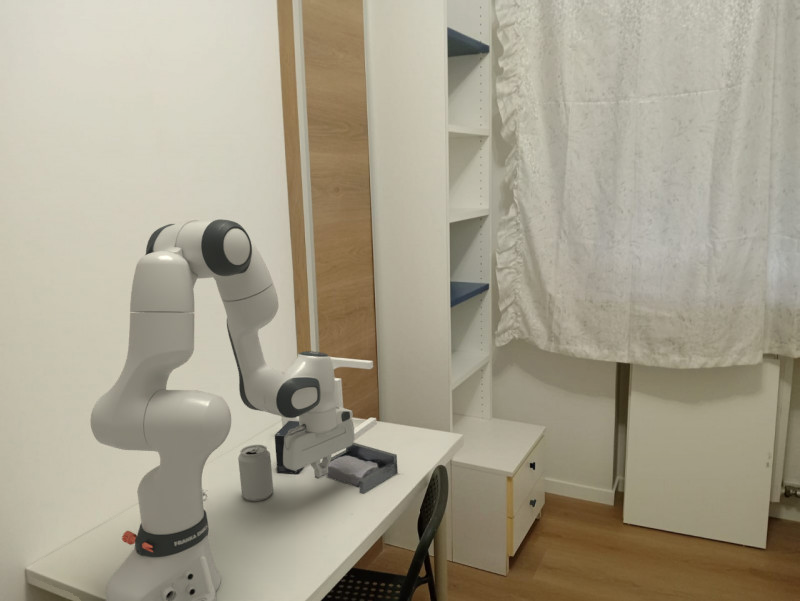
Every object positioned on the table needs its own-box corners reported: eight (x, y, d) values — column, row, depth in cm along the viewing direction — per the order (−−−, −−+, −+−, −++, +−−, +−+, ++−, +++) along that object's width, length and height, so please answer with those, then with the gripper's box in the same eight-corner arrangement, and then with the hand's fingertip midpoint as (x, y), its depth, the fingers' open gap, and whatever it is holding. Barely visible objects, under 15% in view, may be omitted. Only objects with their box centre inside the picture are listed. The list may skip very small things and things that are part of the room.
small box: (300, 474, 175) (297, 436, 173) (276, 473, 176) (272, 435, 174) (313, 457, 185) (310, 420, 183) (290, 456, 186) (287, 420, 184)
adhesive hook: (195, 501, 164) (193, 489, 163) (202, 496, 166) (201, 484, 166) (205, 503, 163) (203, 491, 162) (212, 498, 165) (211, 486, 164)
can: (235, 500, 163) (230, 452, 160) (255, 486, 169) (250, 441, 167) (261, 505, 160) (256, 457, 157) (279, 491, 166) (275, 444, 164)
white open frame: (321, 416, 215) (316, 355, 212) (376, 424, 207) (372, 360, 203) (283, 440, 198) (277, 374, 194) (342, 449, 189) (337, 380, 185)
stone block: (348, 470, 180) (322, 478, 172) (350, 452, 180) (324, 459, 172) (383, 482, 173) (358, 490, 165) (385, 464, 173) (360, 471, 165)
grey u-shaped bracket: (363, 493, 163) (362, 474, 162) (314, 477, 173) (313, 458, 172) (397, 473, 173) (396, 454, 172) (349, 458, 183) (348, 441, 182)
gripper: (293, 434, 149) (297, 494, 151) (357, 409, 165) (360, 463, 167) (274, 429, 153) (279, 487, 155) (338, 405, 169) (341, 458, 171)
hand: (321, 474), depth 161 cm, fingers closed
